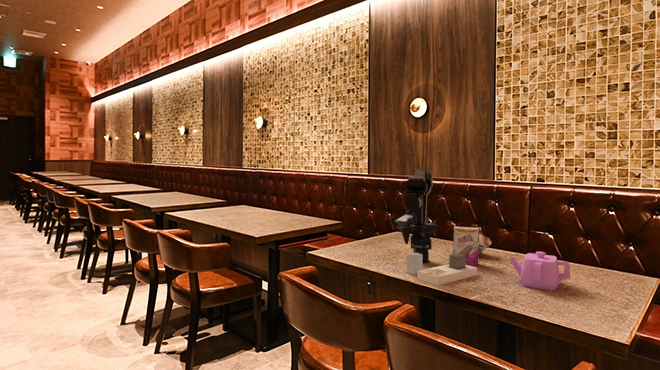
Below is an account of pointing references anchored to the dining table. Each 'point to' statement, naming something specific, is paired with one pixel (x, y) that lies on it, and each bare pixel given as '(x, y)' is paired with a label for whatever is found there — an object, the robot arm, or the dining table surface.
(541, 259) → the teakettle
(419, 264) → the plug
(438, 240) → the dining table surface
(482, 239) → the lucky cat figurine
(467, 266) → the power strip
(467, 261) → the candy bar box
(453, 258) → the twin plug
